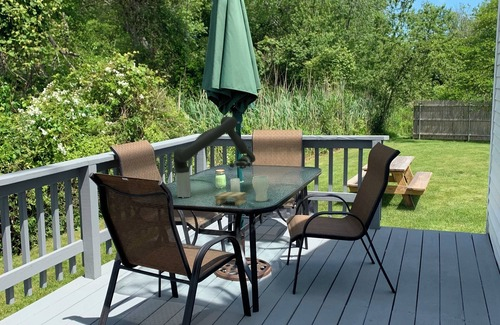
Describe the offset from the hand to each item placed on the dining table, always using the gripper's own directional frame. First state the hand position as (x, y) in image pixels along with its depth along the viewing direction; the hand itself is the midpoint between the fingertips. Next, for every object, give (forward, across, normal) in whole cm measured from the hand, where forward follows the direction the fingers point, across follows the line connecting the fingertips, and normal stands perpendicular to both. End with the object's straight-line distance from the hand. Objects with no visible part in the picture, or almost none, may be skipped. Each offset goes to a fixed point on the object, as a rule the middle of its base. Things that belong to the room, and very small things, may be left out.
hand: (238, 166), depth 339 cm
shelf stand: (+25, 0, +20) cm, 32 cm away
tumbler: (+11, 0, +20) cm, 23 cm away
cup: (+16, +18, +20) cm, 31 cm away
